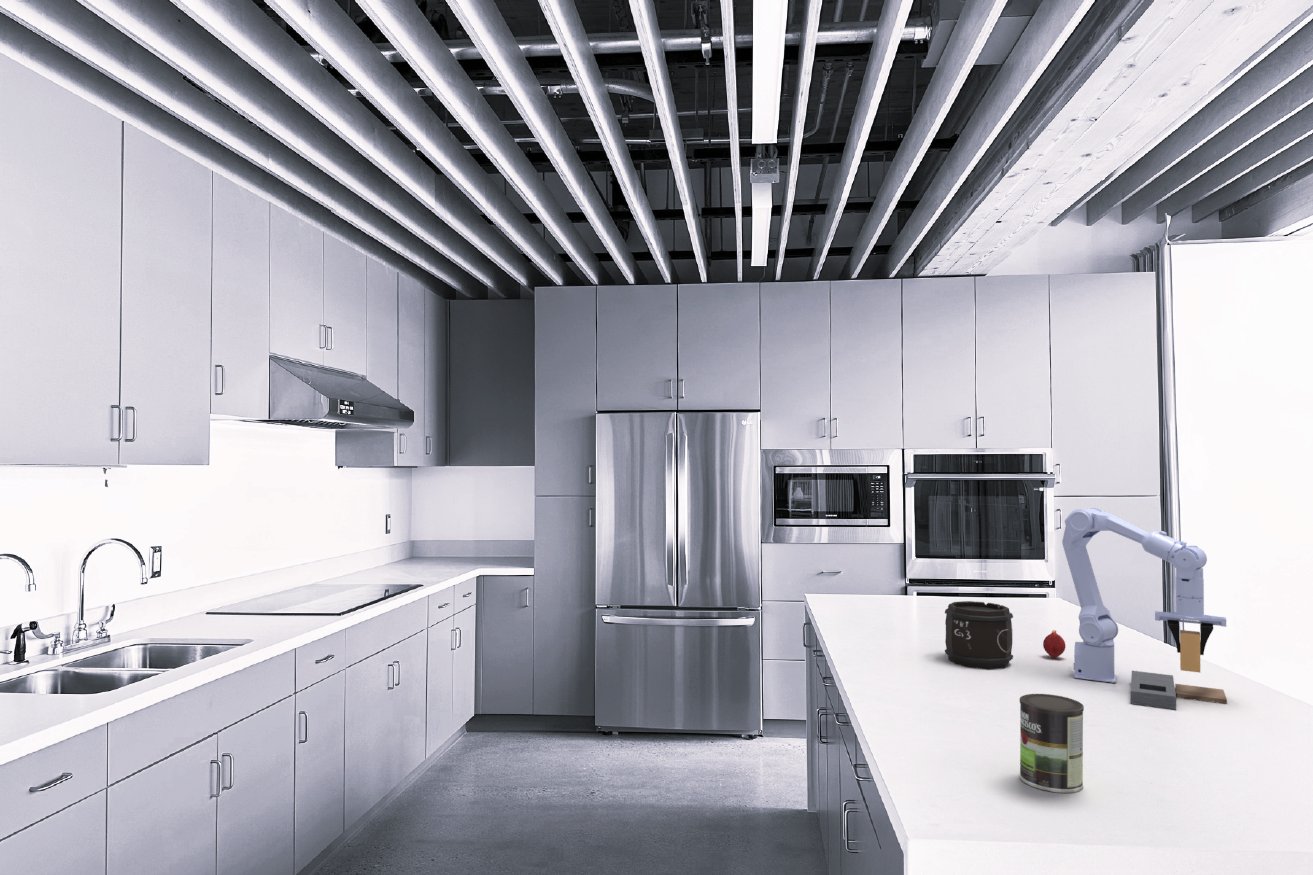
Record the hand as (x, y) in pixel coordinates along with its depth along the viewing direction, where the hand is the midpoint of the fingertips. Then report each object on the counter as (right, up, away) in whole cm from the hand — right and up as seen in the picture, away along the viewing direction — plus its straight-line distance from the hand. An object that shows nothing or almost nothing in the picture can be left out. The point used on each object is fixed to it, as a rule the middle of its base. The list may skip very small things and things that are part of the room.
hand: (1190, 653), depth 202 cm
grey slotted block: (-9, -10, +1) cm, 14 cm away
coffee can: (-59, -9, -54) cm, 81 cm away
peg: (0, -4, 0) cm, 4 cm away
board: (+3, -11, +1) cm, 11 cm away
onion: (-15, -11, +38) cm, 42 cm away
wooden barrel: (-38, -11, +33) cm, 52 cm away
